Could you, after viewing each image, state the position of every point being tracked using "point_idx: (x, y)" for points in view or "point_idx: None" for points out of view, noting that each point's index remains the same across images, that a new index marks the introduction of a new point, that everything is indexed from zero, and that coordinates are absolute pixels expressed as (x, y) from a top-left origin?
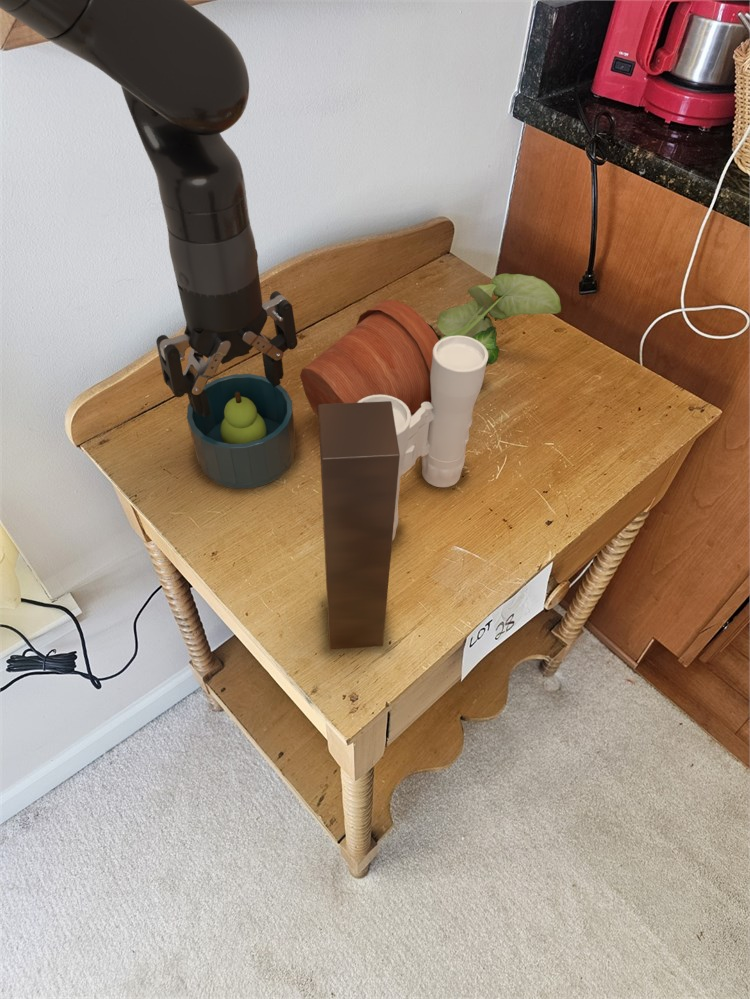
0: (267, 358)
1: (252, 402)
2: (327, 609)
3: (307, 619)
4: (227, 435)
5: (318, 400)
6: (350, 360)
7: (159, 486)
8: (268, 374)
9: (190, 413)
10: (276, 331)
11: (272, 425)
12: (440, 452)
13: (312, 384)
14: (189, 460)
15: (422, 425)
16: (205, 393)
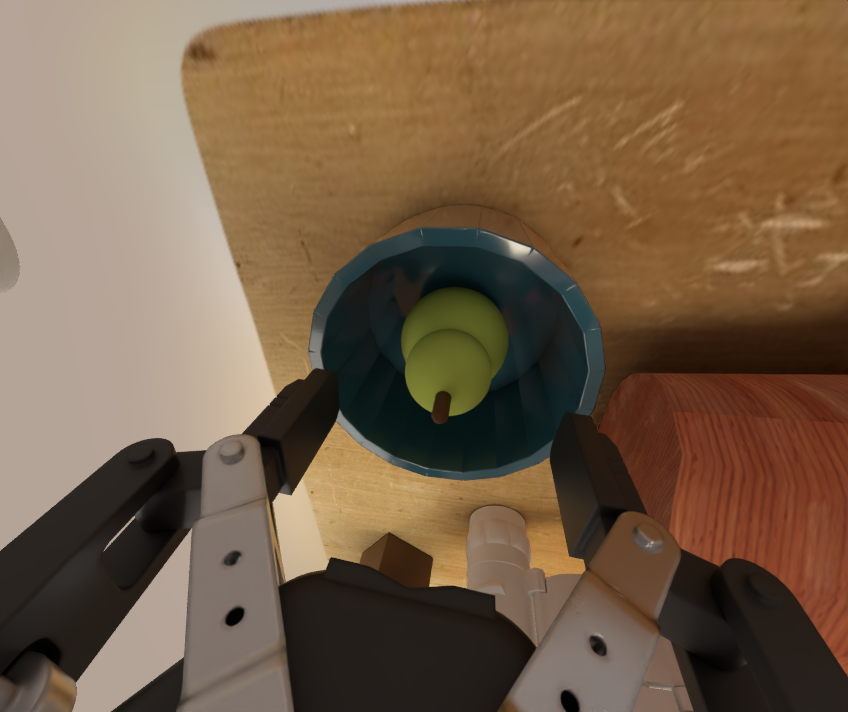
0: (580, 529)
1: (482, 396)
2: (371, 564)
3: (362, 528)
4: (403, 354)
5: (636, 438)
6: None
7: (281, 274)
8: (565, 449)
9: (327, 306)
10: (737, 625)
11: (542, 308)
12: None
13: (655, 463)
14: (354, 256)
15: (663, 687)
16: (293, 487)
